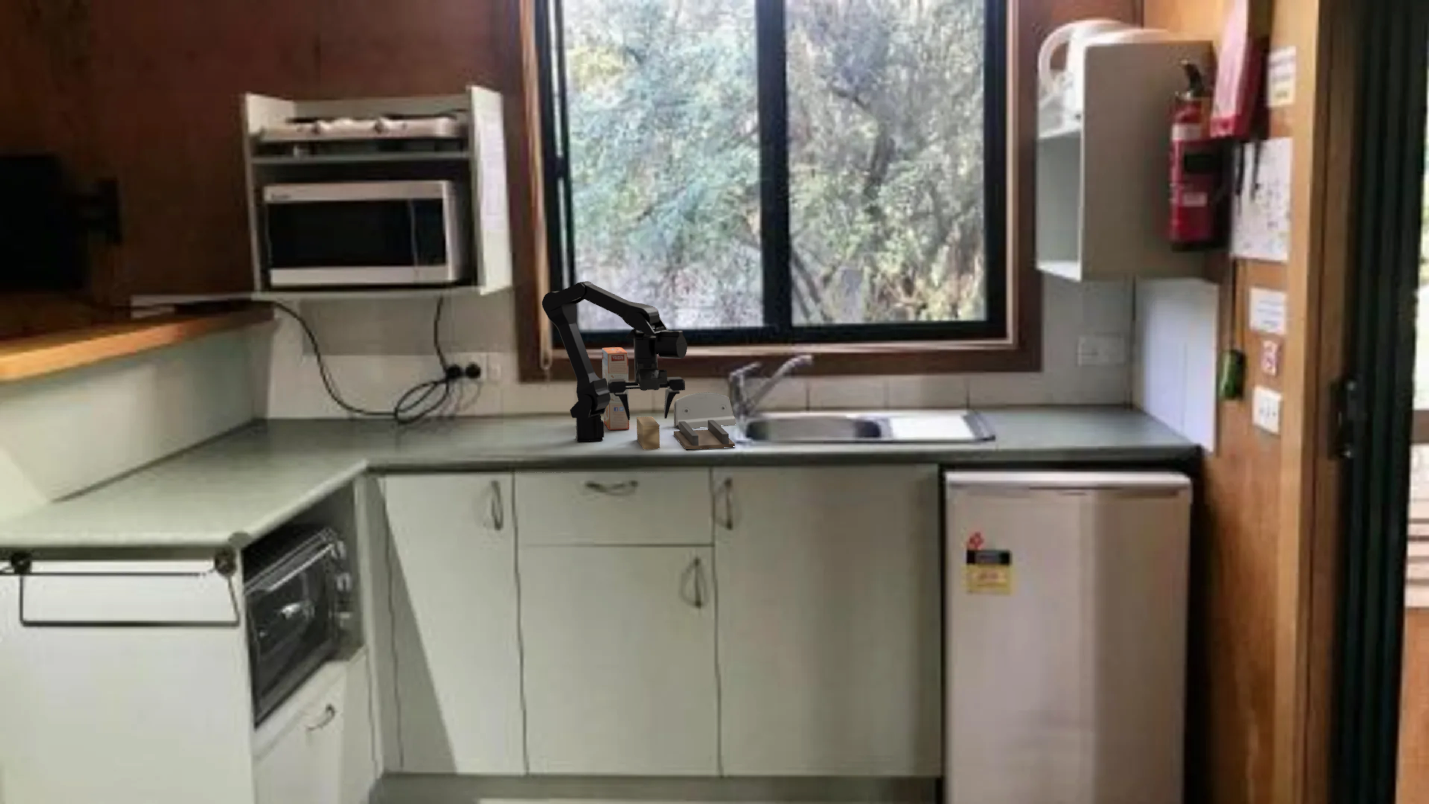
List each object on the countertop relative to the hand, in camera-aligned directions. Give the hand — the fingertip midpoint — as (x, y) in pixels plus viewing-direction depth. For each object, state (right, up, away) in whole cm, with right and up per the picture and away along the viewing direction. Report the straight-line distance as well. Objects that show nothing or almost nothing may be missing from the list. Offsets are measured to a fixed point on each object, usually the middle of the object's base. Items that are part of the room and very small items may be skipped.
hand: (647, 419), depth 333 cm
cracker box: (-10, -2, +28) cm, 30 cm away
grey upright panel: (+14, -2, +27) cm, 31 cm away
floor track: (+14, -6, +3) cm, 15 cm away
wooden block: (0, -6, +1) cm, 7 cm away
